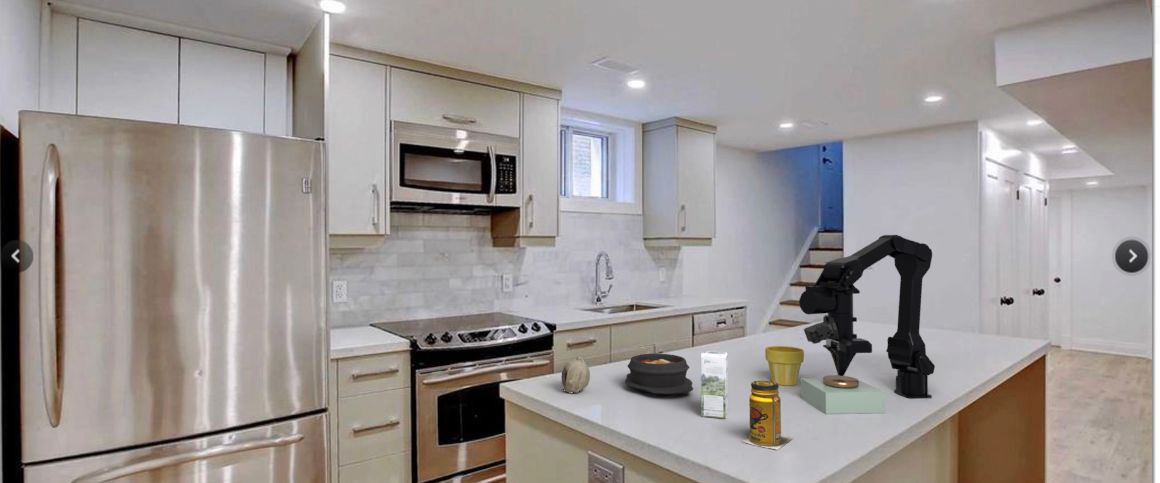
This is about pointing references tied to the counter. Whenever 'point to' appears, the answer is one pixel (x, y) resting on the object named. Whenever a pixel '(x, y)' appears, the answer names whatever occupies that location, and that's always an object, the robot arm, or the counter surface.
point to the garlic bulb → (575, 375)
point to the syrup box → (714, 384)
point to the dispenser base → (842, 397)
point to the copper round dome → (841, 381)
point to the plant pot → (784, 363)
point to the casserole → (659, 374)
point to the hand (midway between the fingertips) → (840, 375)
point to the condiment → (765, 416)
